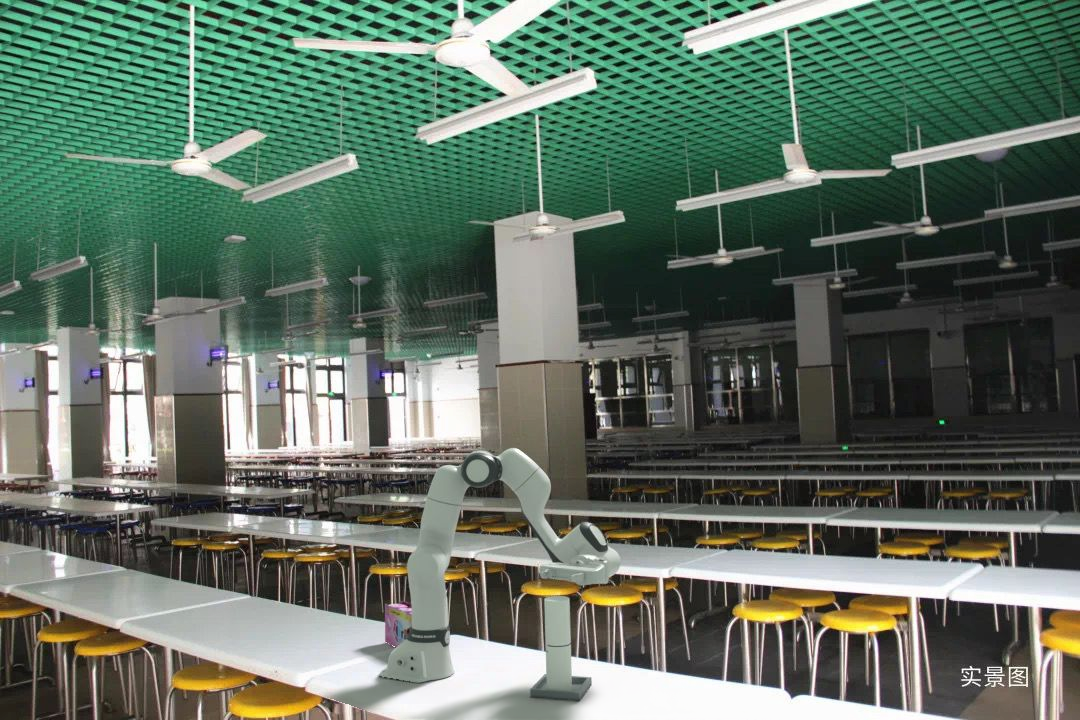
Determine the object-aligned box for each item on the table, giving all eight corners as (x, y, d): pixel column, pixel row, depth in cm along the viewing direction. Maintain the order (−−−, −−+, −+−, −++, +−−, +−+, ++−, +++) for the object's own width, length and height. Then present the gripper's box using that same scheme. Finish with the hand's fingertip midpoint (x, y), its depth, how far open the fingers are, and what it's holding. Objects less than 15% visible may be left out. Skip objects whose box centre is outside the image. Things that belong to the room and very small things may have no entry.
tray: (530, 697, 225) (530, 689, 225) (545, 681, 238) (544, 674, 238) (579, 701, 221) (579, 692, 221) (591, 685, 234) (591, 677, 234)
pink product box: (382, 642, 287) (382, 603, 288) (402, 638, 291) (402, 599, 292) (414, 657, 267) (413, 615, 268) (435, 652, 272) (434, 611, 273)
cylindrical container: (559, 695, 224) (557, 602, 226) (541, 689, 229) (539, 598, 231) (577, 688, 229) (574, 598, 231) (559, 683, 234) (556, 594, 236)
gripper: (555, 556, 249) (527, 562, 238) (612, 561, 236) (585, 569, 225) (556, 577, 248) (528, 584, 237) (613, 583, 236) (586, 592, 225)
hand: (556, 577), depth 231 cm, fingers open, 8 cm apart
